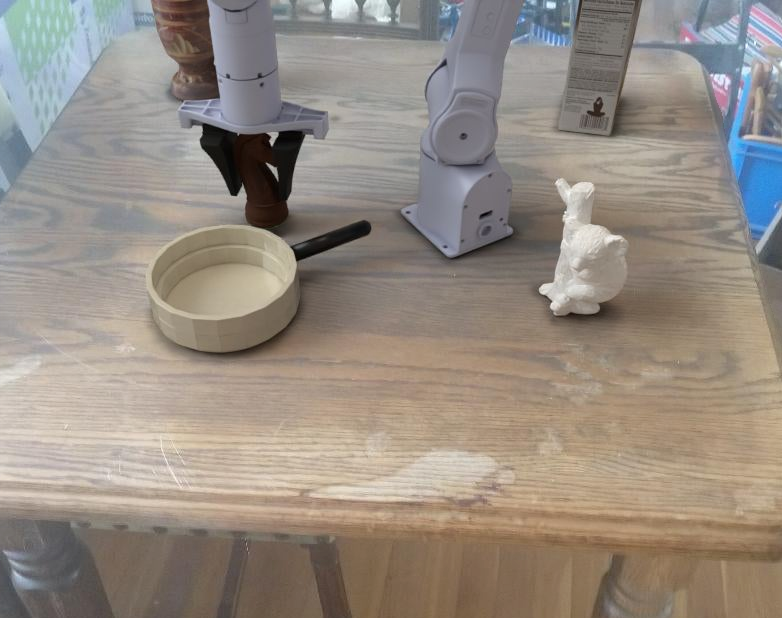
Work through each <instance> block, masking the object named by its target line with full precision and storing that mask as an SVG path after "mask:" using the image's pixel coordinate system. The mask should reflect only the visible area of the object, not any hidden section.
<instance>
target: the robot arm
mask: <svg viewBox="0 0 782 618" xmlns="http://www.w3.org/2000/svg"><path fill="white" fill-rule="evenodd" d="M525 1H526V0H463V3H462V7H461V10H460V14H459V18H458V21H457V25H456V27H455V31H454V34H453V35H452V36H451V38H450V39H449V40H448V42H447V43H446V45H445V49H444V53H443V55H442V57H441V59H440V60H439V62H438V63H437V65H436V66H435V67H433V69H432V70H431V71H430V73H429V74H428V76H427V77H426V80H425V84H424V98H425V101H426V104H427V115H428V124H427V126H426V128H425V129H424V130H423V133H422V134H421V136H420V143H419V144H420V147H419V167H418V170H419V171H418V192H417V202H416V203H413V204H411V205H407V206H405V207H402V208H401V209H400V214H401V216H403V217H404V218H405V219H406V220H407V222H409V223H411V225H412V226H413V227H414V228H416V229H417V230H418V231H419V232H420V233H421V234H422V235H423V236H424V237H425V238H426V239H428V241H430V243H432V244H433V245H434V246H435V247H436V248H437V249H438V251H439V250H440V252H442V253H443V254H444V255H445V256H446V257H447V258H449V259H453V258H456V257H458V256H462V255H464V254H466V253H468V252H471V251H474V250H476V249H479V248H481V247H483V246H487V245H488V244H491V243H494V242H496V241H500V240H501V239H504V238H506V237H509V236H511V235H513V232H514V229H513V228H512V227H511V226H510V225H508V223H509V217H510V216H509V215H510V208H511V200H512V195H513V194H512V193H513V180H512V178H511V176H510V174H509V173H508V172H507V171H506V170H505V169H504V168H503V165H501V163H500V161H499V159H498V156H497V154H496V153H497V152H496V142H497V140H498V135H499V125H498V119H497V109H498V106H499V103H500V99H501V96H502V90H503V89H502V88H503V78H504V69H505V68H504V67H505V60H506V57H507V54H508V50H509V48H510V45H511V43H512V39H513V36H514V33H515V30H516V27H517V24H518V21H519V18H520V16H521V13H522V11H523V10H522V9H523V7H524V4H525ZM207 3H208V7H209V12H210V17H209V24H210V30H211V37H212V44H213V51H214V65H215V66H216V72H217V79H218V86H219V93H220V96H219V98H214V99H210V100H199V101H188V100H185V101H183V102H182V103H181V105H180V106H179V108H178V109H177V115H178V120H179V125H180V128H181V129H192V128H193V126H196V127H201V129H202V132H201V136H200V137H199V145H200V148H201V150H202V151H203V152H205V154H206V155H207V156H208V157H209V158H210V159H211V161H212V162H213V163H214V165H215V166H216V168H217V169H218V171H219V173H220V175H221V178H223V180H224V183H225V185H226V187H227V190H228V192H229V195H230V196H231V197H238V195H239V193H240V192H241V189H242V187H243V183H242V181H241V178H240V175H239V172H238V169H237V166H236V163H235V160H234V155H233V145H234V141H235V139H236V138H237V136H238V135H239V134H260V133H267V134H268V133H277V134H278V135H277V137H275V140H274V141H273V144H271V146H272V147H271V150H272V154H273V157H274V160H275V164H276V173H277V181H278V187H279V197H280V201H286V202H287V201H288V200H289V198H290V196H291V193H292V191H293V179H294V174H295V168H296V164H297V161H298V158H299V154H300V152H301V151H300V150H301V148H302V145H303V143H304V140H305V137H306V135H307V136H313V139H314V140H320V141H325V139H326V137H327V135H328V132H329V129H330V127H329V125H330V124H329V111H328V110H321V109H314V108H311V107H307V106H303V105H300V104H297V103H293V102H291V101H286V100H283V99H282V94H281V84H280V83H281V81H280V72H279V71H280V70H279V62H278V52H277V51H278V49H277V41H276V40H277V39H276V28H275V27H276V26H275V15H274V11H273V9H272V6H271V0H207Z"/></svg>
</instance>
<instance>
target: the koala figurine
mask: <svg viewBox="0 0 782 618" xmlns="http://www.w3.org/2000/svg"><path fill="white" fill-rule="evenodd" d="M554 185H555V186H556V189H557V192H558V195H559V196H560V197H561V199H562V202H563V203H565V205H566V206H567V207H566V210H564V211H563V213H564V214H562V223H564V226H563V228H562V240H561V243H560V247H559V249H560V254H559V257H558V260H557V264H556V266H555V270H554V279H553V282H549V283H543V284H541V286H540V287H539V288H538V291H539V294H540V295H543V296H546V297H547V298H548V299H549V300H550V301H551V303H550V305H549V309H550V310H551V311H553V315H554V316H557V317H558V316H559V317H560V316H567V315H568V314H570V313H573V314H576V315H577V314H578V315H592V314H593V315H594V314H597V313H598V312H600V310H601V306H600V303H604V302H605V303H606V302H607V301H610V300H612V299H613V298H615V297H616V296H618V295H619V293H620V292H621V291H622V289H623V287H624V286H625V284H626V281H627V278H628V263H627V261H626V257H625V255H627V252H628V251H629V247H630V246H629V245H630V244H629V241H628V240H627V239H625V238H624V236H622V235H619V234H618V235H615V234H612V232H610V230H609V229H608V228H606V227H605V226H602V225H599V224H593V223H591V222H592V221H591V220H592V213H593V206H594V202H595V197H596V186H595V185H594V183H592V182H590V181H586V182H585V181H580V182H577V183H575V184H574V185H573V186H572V187H571V185H569V183H568V181H567V180H566V178H563V177H561V178H558V179H556V181H555V183H554Z"/></svg>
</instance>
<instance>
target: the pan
mask: <svg viewBox="0 0 782 618" xmlns="http://www.w3.org/2000/svg"><path fill="white" fill-rule="evenodd" d="M144 276H145V288H146V293H147V297H148V301H149V304H150V308H151V313H152V316H153V320H154V322H155V323H156V324H157V325H156V326H158V328H159V330H160V332H161V333H162V335H163V336H166V337H167V338H168V339H170V340H171V341H173V342H174V343H175V344H177V345H180V346H182V347H186V348H188V349H192V350H195V351H198V352H205V353H206V352H207V353H219V354H220V353H232V352H238V351H239V352H240V351H243V350H247V349H250V348H253V347H255V346H258V345H260V344H262V343H263V344H264V342H266V341H268V340H271V339H272V338H273V337H275V336H276V335H277V334H279V333H280V332H281V331H283V330H284V329H285V328H286V327H288V325H289V324H290V322H291V321H292V319H293V318H294V317H295V315H296V314H297V312H298V308H299V303H300V299H301V294H300V281H299V269H298V262H296V259H295V255H294V252H293V250H292V249H291V248H290V245H288V243H287V242H286V241H285V240H284V238H283V237H280V236H278V235H277V234H274V233H273V232H272V231H269V230H267V229H261V228H256V227H253V226H251V225H248V224H227V223H226V224H218V225H217V224H216V225H211V226H203V227H200V228H197V229H195V230H191V231H188V232H185V233H183V234H181V235H179V236H177V237H176V238H174V239H172V240H170V241H169V242H168V243H166V244H164V245H163V246H162V247H161V248H160V249H159V250H158V251H157V252H156V253H155V254H154V256H153V257H151V259H150V262H149V265H148V266H147V269H146V271H145V275H144Z"/></svg>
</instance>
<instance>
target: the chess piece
mask: <svg viewBox="0 0 782 618" xmlns="http://www.w3.org/2000/svg"><path fill="white" fill-rule="evenodd" d="M271 139H272V136H271V135H270V134H268V133H260V134H239V133H238V136H237V138H236V139H235V141H234V145H233V155H234V160H235V163H236V166H237V169H238V172H239V175H240V178H241V181H242V187H243V189H244V192H245V195H246V202H245V207H244V211H245V212H244V215H245V216H244V217H245V220H246V222H247V223H248V224H249V226H252V227H256V228H260V229H264V230H267V229H274V228H277V227H279V226H281V225H283V224H284V223H285V222H286V221H287V220H288V218H289V215H290V211H289V207H288V202H287V201H280V197H279V187H278V178H277V177H276V175H275V174H274V172H273V171H272V169H271V168H270V166H271V167H273V168H274V169H275V168H276V164H275V160H274V157H273V154H272V150H271V147H272V144H271V142H270V141H271ZM269 165H270V166H269ZM276 169H277V168H276Z"/></svg>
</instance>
